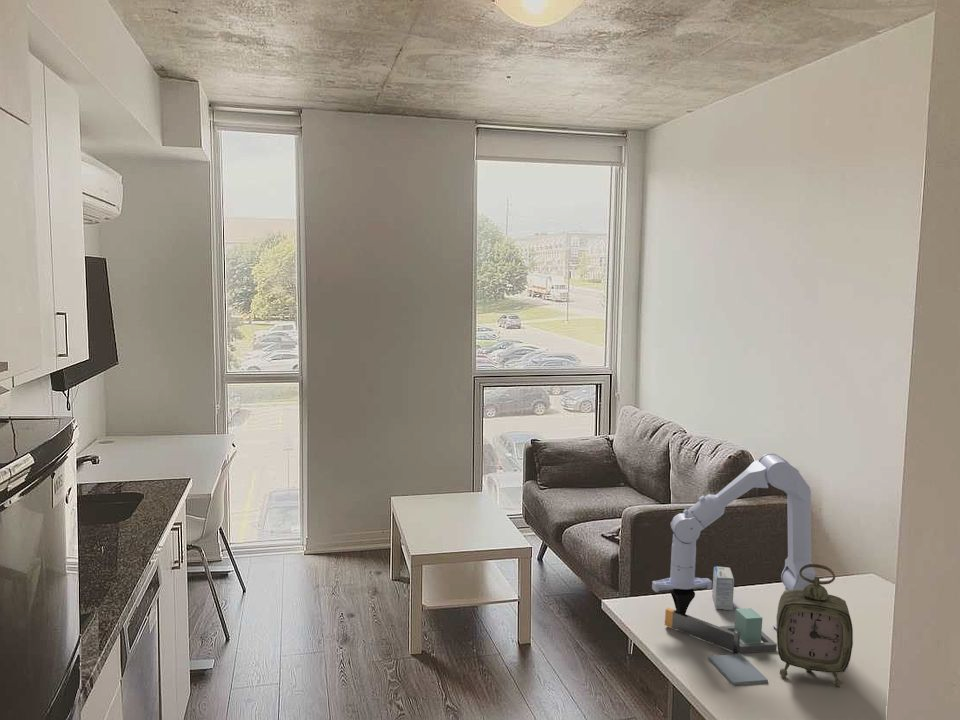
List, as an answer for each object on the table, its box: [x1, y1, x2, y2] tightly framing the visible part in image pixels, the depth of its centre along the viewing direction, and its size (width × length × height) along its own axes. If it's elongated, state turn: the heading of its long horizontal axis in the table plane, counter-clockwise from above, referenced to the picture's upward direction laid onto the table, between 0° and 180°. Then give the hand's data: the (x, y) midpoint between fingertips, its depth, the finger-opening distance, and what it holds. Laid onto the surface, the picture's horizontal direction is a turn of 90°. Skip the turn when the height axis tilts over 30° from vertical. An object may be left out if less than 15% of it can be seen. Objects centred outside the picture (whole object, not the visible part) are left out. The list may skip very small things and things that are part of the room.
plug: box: [734, 607, 764, 644], centre depth 177 cm, size 5×6×7 cm
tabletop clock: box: [775, 563, 854, 688], centre depth 161 cm, size 14×9×25 cm, turn 70°
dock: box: [719, 625, 778, 654], centre depth 177 cm, size 9×10×2 cm
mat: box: [707, 653, 769, 686], centre depth 164 cm, size 8×11×1 cm
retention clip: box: [664, 607, 740, 654], centre depth 177 cm, size 1×19×5 cm, turn 45°
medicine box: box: [711, 566, 735, 611], centre depth 197 cm, size 8×4×9 cm, turn 168°
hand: (680, 617), depth 184 cm, fingers closed
